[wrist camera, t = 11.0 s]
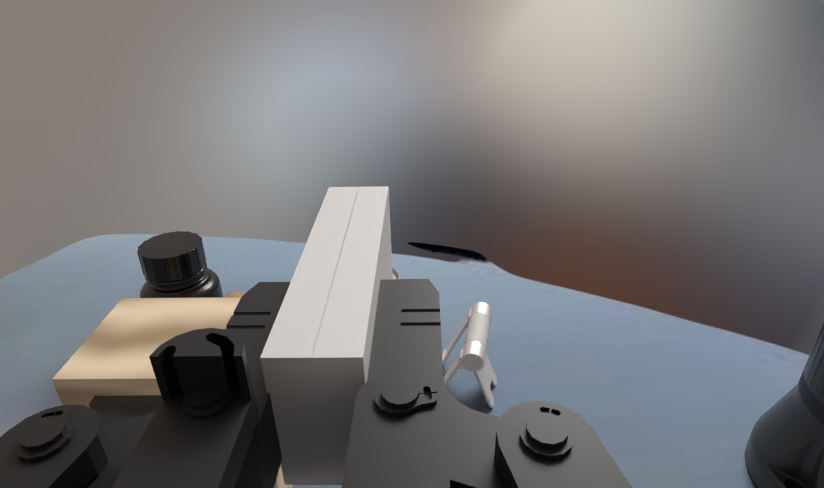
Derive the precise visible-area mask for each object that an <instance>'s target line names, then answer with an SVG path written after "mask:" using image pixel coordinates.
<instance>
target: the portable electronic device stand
mask: <svg viewBox="0 0 824 488" xmlns="http://www.w3.org/2000/svg"><path fill="white" fill-rule="evenodd" d="M491 314H492V309H491V307H490V306H489V305H488V304H487V303H484V302H478V303H475V304H474V305H473V306H472V308H471V309H470V310H469V312H468V314H467V316H466V318H465V319H464V321H463V322H462V324H461V326H460V327H459V329H458V331H457V332H456V334H455V335H454V337H453V339H452V340H451V342H450V343H449V345H448V347H447V348H446V350H444V351H443V352H442V364H444V362H445V361H446V359H447V358H448V356H449V354H450V353H451V351H452V350H453V348H454V346H455V345H456V343H457V342H458V340H459V339H460V337H461V335H462V334H463V332H464V331H465V329H466V328H467V327H468V329H467V334H466V338H465V343H464V347H463V348H462V349H461V350H460V353H459V354H458V356H457V357H456V359H455V361H454V362H453V364H452V365H451V367H450V368H449V370H448V372H447V373H446V375H445V376H444V382H445V386H447V385H448V383H449V382H450V380H451V379H452V377H453V376H454V374H455V373H456V371H457V370H458V369H465V370H468V371H470V372H474V374H475V376H476V378H477V381H478V383H479V385H480V387H481V389H482V392H483V394H484V396H485V398H486V400H487V402H488V404H489V407H490V408H493V407H494V398H493V396H492V393H491V390H490V386H491V383H492V385H493V386H494V387H496V382H497V379H496V375H495V373H494V371H493V369H492V366H491V364H490V362H489V360H488V357H487V355H486V348H487V341H488V334H489V328H490V321H491Z"/></svg>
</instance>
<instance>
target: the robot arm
mask: <svg viewBox="0 0 824 488" xmlns="http://www.w3.org/2000/svg"><path fill="white" fill-rule="evenodd" d="M233 313H234V314H233V315H232V316H231V318H230V320H229V321H228V323H227V325H226V329H218V328H205V329H197V330H192V331H189V332H186V333H183V334H180V335H177V336H175V337H173V338H171V339H170V340H168V341H166V342H165V343H163V344H161V345H160V346H159V347H158V348H157V349H156V350H155V351H154V352H153V353H152V354H151V355H150V356H149V358H150V361H151V365H152V368H153V371H154V374H155V377H156V380H157V383H158V387H159V390H160V393H161V396H162V399H163V401H162V403H161V404H160V406H159V408H158V410H157V411H155V412H152V413H149V414H146V415H142V416H138V417H134V418H130V419H126V420H122V421H117V422H113V423H109V424H105V425H102V423H101V421H100V419H99V417H98V415H97V413H96V411H95V410H93V409H91V408H89V407H87V406H85V405H63V406H58V407H54V408H49V409H46V410H44V411H41V412H39V413H37V414H35V415H32V416H30V417H28V418H26V419H24V420H23V421H22V422H20V423H19V424H17V425H16V426H14V427H13V428H11V429H10V430H8V431H7V432H6V433H5V434H4V435H2V436H1V437H0V488H274V486H275V482H276V479H277V475H278V472H279V468H280V464H281V468H282V473H283V478H284V484H285V485H342V488H632V487H631V485H630V484H629V482H628V481H627V479H626V478H625V476H624V475H623V473H622V472H621V470H620V469H619V468H618V466H617V465H616V463H615V462H614V460H613V459H612V457H611V456H610V454H609V453H608V451H607V450H606V448H605V447H604V445H603V444H602V442H601V441H600V439H599V438H598V436H597V435H596V433H595V432H594V431H593V429H592V428H591V427H590V425H589V424H588V423H587V422H586V421H585V420H584V419H583V418H582V417H581V416H580V415H579V414H577V413H575V412H573V411H572V410H570V409H568V408H566V407H564V406H563V405H559V404H554V403H550V402H546V401H528V402H524V403H521V404H518V405H516V406H513V407H511V408H510V409H509V410H508V411H506V412H505V413H504V414H503V415H502V416H501V417H497V416H493V415H489V414H485V413H481V412H479V411H476V410H473V409H470V408H468V407H467V406H465V405H463V404H462V403H460V402H458V401H457V400H456V399H455V398H454V397H453V396H452V395H451V394H450V392H449V391H448V389H447V387H446V386H445V382H444V378H443V364H442V344H441V326H440V303H439V292H438V291H437V290H436V288H435V287H434V286H433V284H432V283H431V282H430V281H429V279H392V256H391V233H390V211H389V189H388V187H329V190H328V191H327V194H326V197H325V199H324V202H323V204H322V206H321V209H320V211H319V214H318V216H317V219H316V221H315V223H314V226H313V228H312V231H311V233H310V236H309V238H308V241H307V243H306V246H305V248H304V251H303V253H302V256H301V258H300V260H299V263H298V265H297V268H296V270H295V273H294V275H293V278H292V280H291V282H259V283H258V284H256V285H255V286H254V287H253V288H251V289H250V290H249V291H248V292H246V293H245V294H244V295H243V296H242V297H241V299H240V301H239V303H238V304H237V306H236V308H235V310H234V312H233ZM745 456H746V463H747V467H748V470H749V473H750V475H751V478H752V480H753V481H754V483H755V485H756V487H757V488H824V324H823V326H822V328H821V331H820V333H819V335H818V338H817V340H816V342H815V345H814V347H813V350H812V352H811V354H810V356H809V358H808V361H807V363H806V365H805V368H804V371H803V373H802V375H801V378H800V380H799V382H798V384H797V385H796V386H795V387H794V388H793V389H792V390H791V391H789V392H788V393H787V394H786V395H785V396H784V397H783V398H782V399H780V400H779V401H778V402H777V403H776V404H775V405H774V406H773V407H771V408H770V409H769V410H768V411H767V412H766V413H765V414H763V415H762V416H761V417H760V418H759V420H758V421H757V422H756V424H755V426H754V428H753V430H752V433H751V435H750V438H749V440H748V443H747V446H746V452H745Z"/></svg>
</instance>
